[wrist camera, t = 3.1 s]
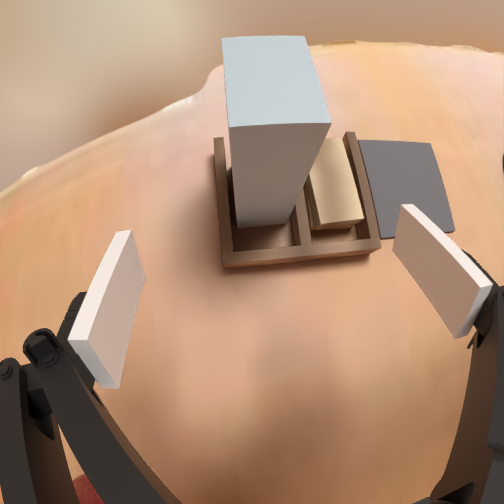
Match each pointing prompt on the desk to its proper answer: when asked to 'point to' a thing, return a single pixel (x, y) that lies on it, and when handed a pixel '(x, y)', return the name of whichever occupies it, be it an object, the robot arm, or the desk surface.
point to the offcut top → (333, 187)
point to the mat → (404, 183)
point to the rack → (299, 220)
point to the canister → (86, 491)
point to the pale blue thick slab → (271, 123)
